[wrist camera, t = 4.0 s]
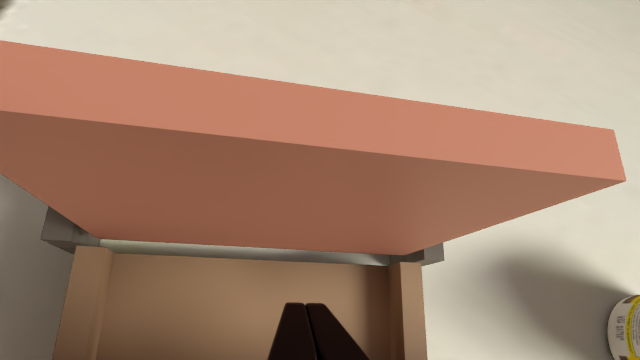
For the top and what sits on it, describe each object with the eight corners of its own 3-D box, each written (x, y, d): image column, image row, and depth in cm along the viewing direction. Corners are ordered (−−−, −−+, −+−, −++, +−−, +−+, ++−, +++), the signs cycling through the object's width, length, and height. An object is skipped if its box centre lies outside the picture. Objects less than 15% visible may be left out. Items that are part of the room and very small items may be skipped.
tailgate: (402, 258, 20) (637, 182, 9) (94, 242, 17) (-136, 95, 6) (401, 233, 20) (624, 131, 9) (100, 213, 17) (-105, 24, 6)
